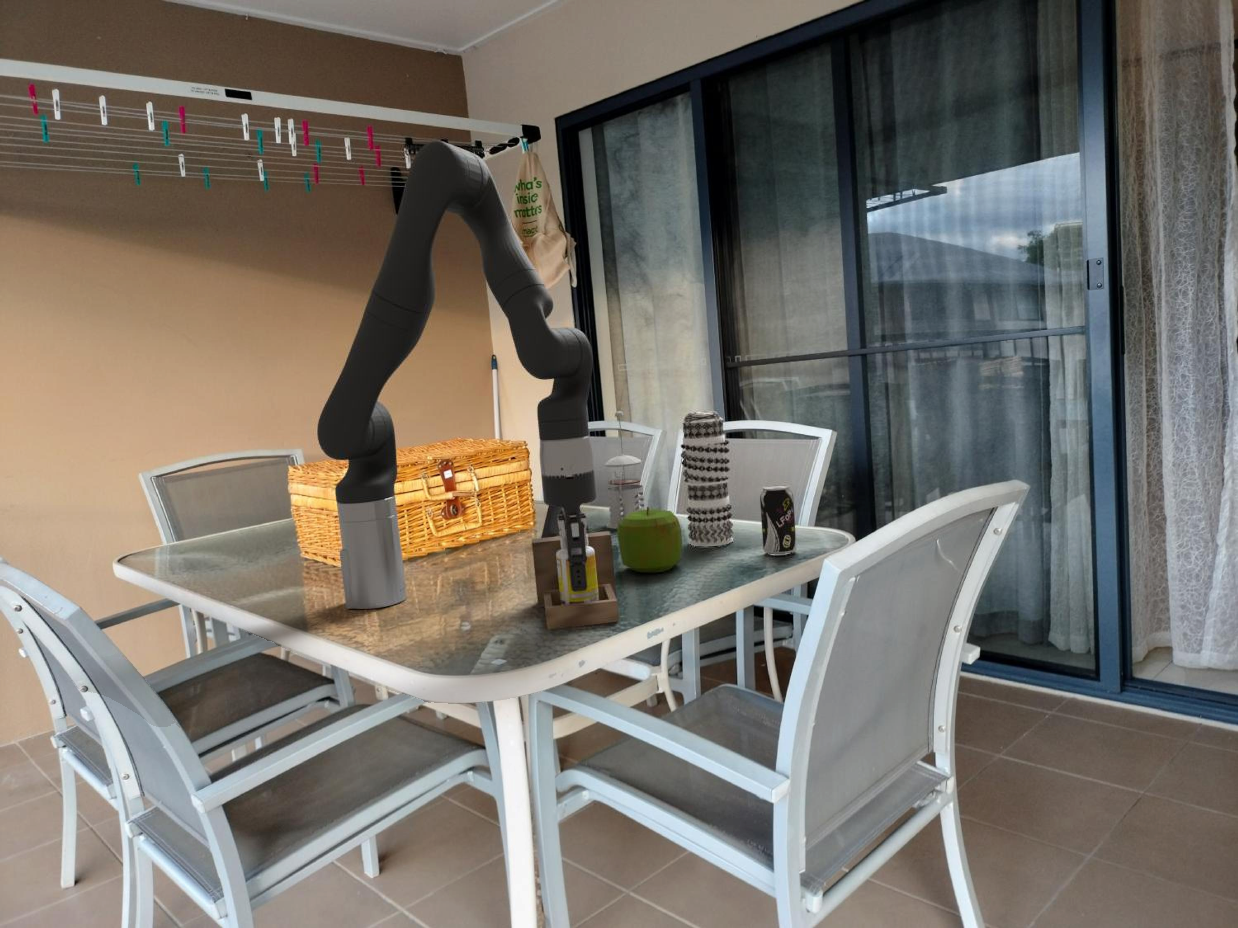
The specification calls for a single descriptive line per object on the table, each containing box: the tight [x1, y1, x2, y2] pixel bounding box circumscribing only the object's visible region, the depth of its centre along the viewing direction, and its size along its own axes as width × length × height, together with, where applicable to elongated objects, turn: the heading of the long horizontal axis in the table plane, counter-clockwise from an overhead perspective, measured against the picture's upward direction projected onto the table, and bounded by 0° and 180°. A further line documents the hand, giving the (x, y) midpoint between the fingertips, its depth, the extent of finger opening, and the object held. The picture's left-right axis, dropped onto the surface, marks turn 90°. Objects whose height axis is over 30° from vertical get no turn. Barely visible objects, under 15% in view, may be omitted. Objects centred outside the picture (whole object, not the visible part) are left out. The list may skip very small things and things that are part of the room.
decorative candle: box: [680, 410, 734, 547], centre depth 171 cm, size 9×9×25 cm
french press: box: [604, 410, 646, 530], centre depth 196 cm, size 10×12×25 cm
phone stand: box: [540, 505, 591, 538], centre depth 187 cm, size 9×6×12 cm, turn 70°
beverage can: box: [759, 484, 797, 555], centre depth 158 cm, size 6×6×12 cm
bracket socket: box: [531, 530, 620, 631], centre depth 132 cm, size 12×15×10 cm
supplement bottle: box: [556, 534, 599, 605], centre depth 130 cm, size 6×6×10 cm
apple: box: [616, 506, 683, 574], centre depth 154 cm, size 11×11×11 cm
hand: (577, 584), depth 130 cm, fingers closed on supplement bottle, 5 cm apart
